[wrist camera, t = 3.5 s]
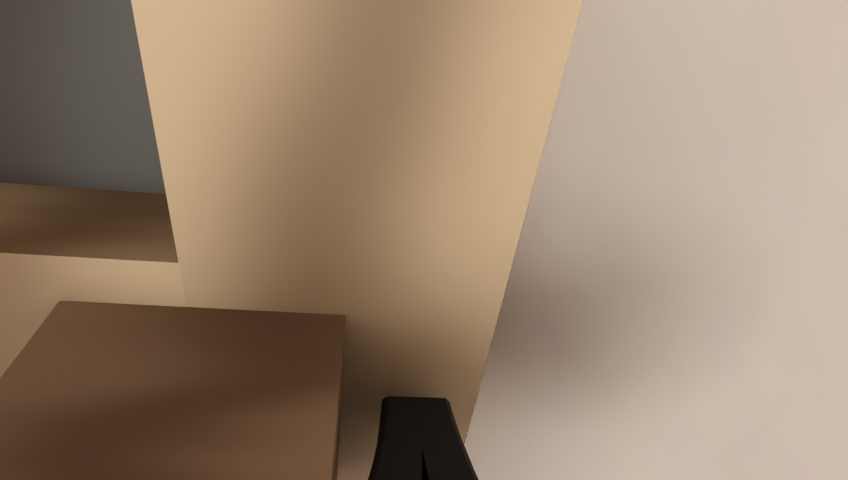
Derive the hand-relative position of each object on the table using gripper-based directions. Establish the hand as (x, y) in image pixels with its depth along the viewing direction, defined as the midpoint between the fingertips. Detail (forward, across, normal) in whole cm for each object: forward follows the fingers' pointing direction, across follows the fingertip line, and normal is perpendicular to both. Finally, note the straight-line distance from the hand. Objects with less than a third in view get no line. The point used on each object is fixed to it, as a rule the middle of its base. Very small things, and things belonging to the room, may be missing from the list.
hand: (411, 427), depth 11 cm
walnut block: (+1, +4, 0) cm, 4 cm away
